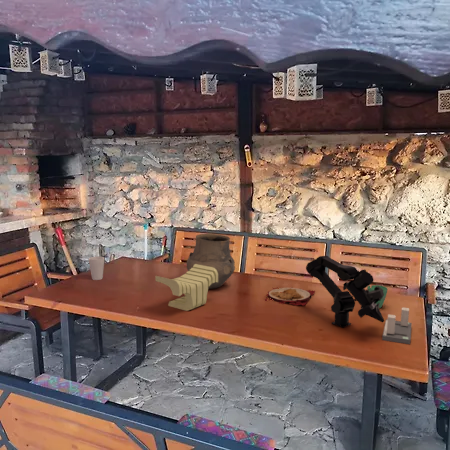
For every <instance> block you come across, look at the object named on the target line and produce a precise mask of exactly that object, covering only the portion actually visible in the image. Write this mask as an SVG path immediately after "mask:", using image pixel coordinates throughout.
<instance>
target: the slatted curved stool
mask: <svg viewBox="0 0 450 450" xmlns="http://www.w3.org/2000/svg"><path fill="white" fill-rule="evenodd" d="M155 282H158V283H161V284H163V285H165V286H167V287H168V288H170V290H171V292H172V296H176V297H178V298H176V299H174V300H170V301H168V305H167V306H168V307H171V308H175V309H179V310H182V311H187V312H188V311H190V310H193V309H196V308H198V307H200V306H203V305H205V304H206V303H207V299H208V298H207V297H208V291H209V289H208V287H209V286H210V285H211V284H212V283H215V282H218V272H217V270H216V269H215V268H213V267H208V266H203V265H198V264H195V265H194V266H193V268H191V269H190V270H189V271H188V270H187V271H186V273H184V274H182V275H180V276H178V277H175V278H168V277H162V276H158V275H155ZM183 294H184V296H182V295H183Z"/></svg>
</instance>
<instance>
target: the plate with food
mask: <svg viewBox="0 0 450 450" xmlns="http://www.w3.org/2000/svg"><path fill="white" fill-rule="evenodd" d="M278 288H279V289H276V288H273V289H272V290H270V291H267V293H268V294H267V293H266V295H265V297H267V298H264V300H265V301H264V302H268V301H270V300H272V299H273V300H275V301H274V302H277V303H278V304H281V305H287V303H288V304H289V305H292V306H302V307H304V306H306V305H307V304H308V303H309V301H310V299H311V298H312V297H313V295H314V294H315V293H316V290H311V289H309V290H307V289H302V288H297V287H293V286H292V287H278ZM280 292H282V293H280ZM310 296H311V297H310ZM269 297H270V298H271V299H270V298H269ZM267 299H268V301H267ZM273 300H272V301H273Z"/></svg>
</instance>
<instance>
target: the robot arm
mask: <svg viewBox="0 0 450 450" xmlns="http://www.w3.org/2000/svg"><path fill="white" fill-rule="evenodd" d="M326 269H329V270H330V271H332V272H334V273H335V274H336V275H337V277H338V278H339V279H340V280H342V281H344V283H343V284H342V285H343V287H342V289H343V291H342V289H341V288H340V287H339V286H338V285H337V284H336V283H335V281H333V279H332V278H331V277H330V276H329V275H328V274H327V272H326V271H327V270H326ZM305 270H306V272H307V274H309V275H310V276H311V277H312V278H316V279H317V280H318V281H319V283H321V284H322V287H324V288H325V290H326V291H327V292H328V293H329V294H330V296H332V298H333V304H332V305H331V306H330V309H331V313H334V321H332V322H331V325H334V326H337V327H340V328H343V329H344V328H346V327H348V326H351V325H352V323H351V322H350V321H349V320H350V313H351V312H353V311H354V309H355V306H356V302H357V303H358V304H359V305H360V309H358V310H357V315H358V317H359V318H360V319H362V318H363V317H364V316H369V317H371V318H373V319H375V320H376V321H379V322H380V323H385V319H384V316H383V315H382V312H381V310H380V308H379V304H380V303H378V304H376V303H377V302H378V301H380V300H381V299H382V297H383V296H384V293H383V290H382V288H380V287H379V286H377V287H375V288H374V290H373V291H371V292H369V290H367V289H365V288H367V287H368V286H370V285H371V284H373V283H374V275H372V274H371V273H370V272H368V271H367V270H366V269H361V270H360V271H359V269H357V267H356V266H353V265H348V264H342V263H341V262H339V261H337V260H334V259H333V258H331V257H330V256H328V255H320V256H318V257H316V258H315V259H313V260H311V261H309V262H308V263H307V264H306V266H305ZM345 290H346V291H345Z"/></svg>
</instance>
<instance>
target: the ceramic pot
mask: <svg viewBox="0 0 450 450" xmlns="http://www.w3.org/2000/svg"><path fill="white" fill-rule="evenodd" d="M230 239H231V237H229V236H227V235H224V234H215V233H201V234H197V235H195V246H194V249H193V252H191V251H190V253H189V256H188V258H187V260H186V269H187V272H188V271H189V270H190V269H191V268H193V266H194V265H195V264H198V265H203V266H208V267H213V268H215V269H216V270H217V272H218V282H215V283H212V284H211V285H210V286H209V287H208V290H209V289H210V290H211V289H217V288H221V286H224V285H223V284H225V283H226V282H227V280H229V279H230V277H231V276H232V275H233V273H234V272H235V269H236V267H235V266H236V265H235V260H234V257H232V255H231V249H230Z"/></svg>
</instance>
